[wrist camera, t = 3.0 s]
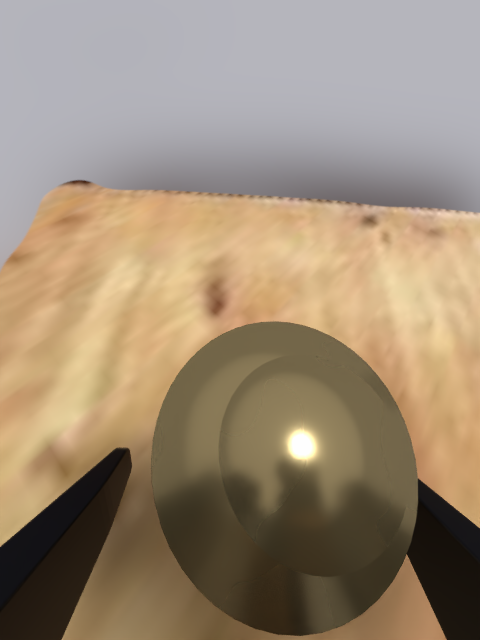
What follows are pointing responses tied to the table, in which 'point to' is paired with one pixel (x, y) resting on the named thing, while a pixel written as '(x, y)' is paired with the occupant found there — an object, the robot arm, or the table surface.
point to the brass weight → (284, 478)
